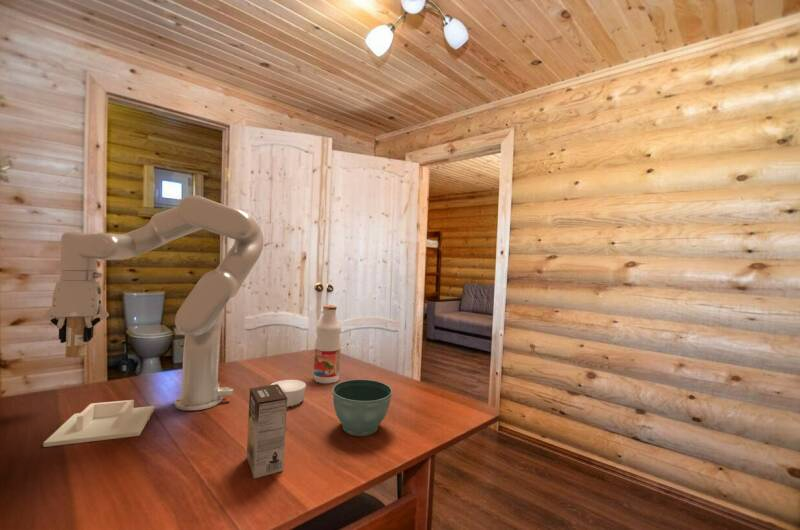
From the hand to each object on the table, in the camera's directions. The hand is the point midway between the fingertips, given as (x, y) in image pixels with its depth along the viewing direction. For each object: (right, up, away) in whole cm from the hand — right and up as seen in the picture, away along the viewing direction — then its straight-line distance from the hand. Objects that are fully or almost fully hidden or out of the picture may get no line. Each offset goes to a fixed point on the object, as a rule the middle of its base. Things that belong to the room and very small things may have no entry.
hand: (76, 340), depth 100 cm
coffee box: (+61, -23, -22) cm, 69 cm away
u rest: (+16, -20, -9) cm, 27 cm away
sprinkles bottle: (0, -5, 0) cm, 5 cm away
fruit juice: (+63, -22, +35) cm, 75 cm away
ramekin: (+55, -22, +13) cm, 61 cm away
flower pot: (+80, -24, -3) cm, 84 cm away
